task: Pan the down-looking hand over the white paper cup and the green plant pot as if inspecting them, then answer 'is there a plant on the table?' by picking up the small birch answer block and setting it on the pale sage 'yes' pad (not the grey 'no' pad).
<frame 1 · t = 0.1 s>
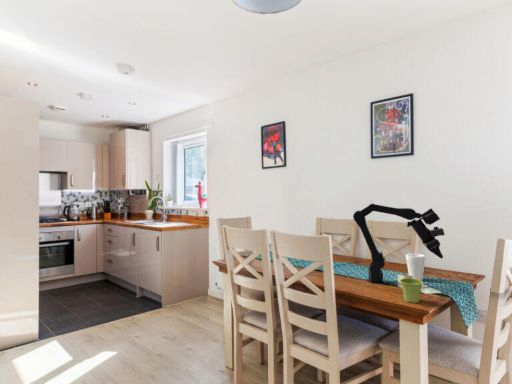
hand: (440, 256, 166), 15 cm above the table, tool tilted 30°, fingers open, 9 cm apart
foam cup: (416, 279, 179), on the table
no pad: (416, 285, 167), on the table
answer block: (405, 287, 165), on the table
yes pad: (428, 290, 158), on the table
plant pot: (412, 301, 145), on the table
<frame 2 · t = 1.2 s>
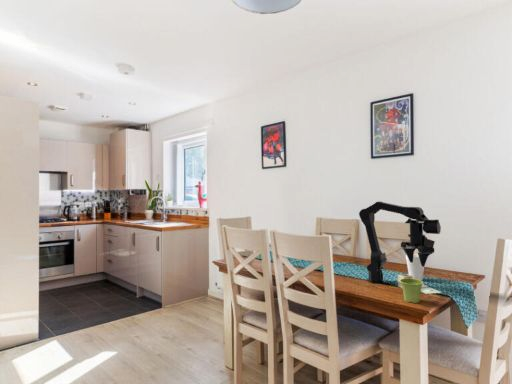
hand: (417, 264, 162), 12 cm above the table, tool pointing down, fingers open, 9 cm apart
nothing on the table moved.
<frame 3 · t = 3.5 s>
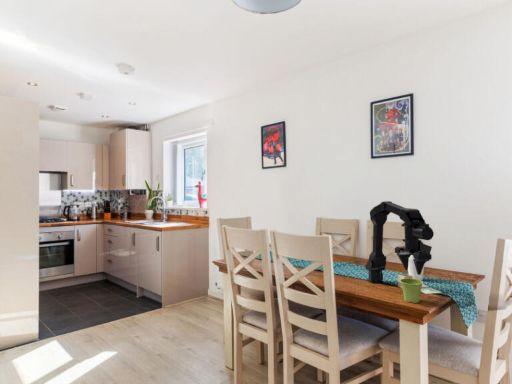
hand: (412, 272, 147), 12 cm above the table, tool pointing down, fingers open, 9 cm apart
nothing on the table moved.
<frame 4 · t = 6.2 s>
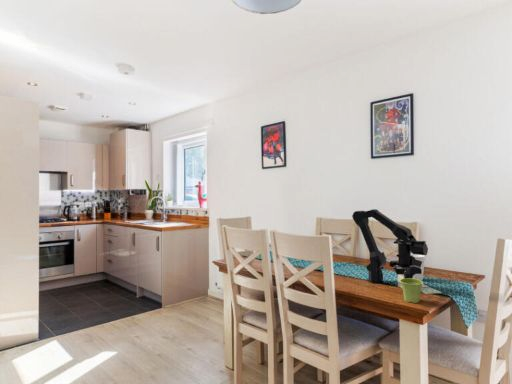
hand: (405, 284, 165), 2 cm above the table, tool pointing down, fingers closed on answer block, 5 cm apart
answer block: (405, 287, 165), on the table, touching gripper
everything else where it was.
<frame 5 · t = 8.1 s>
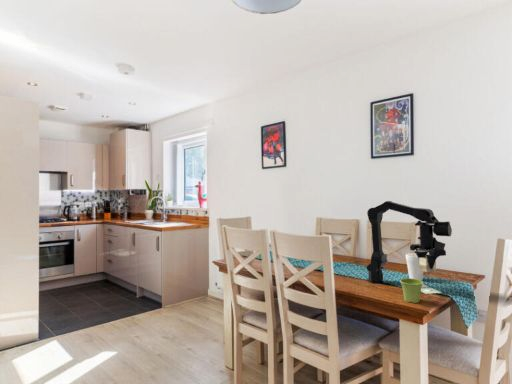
hand: (427, 267, 158), 11 cm above the table, tool pointing down, fingers closed on answer block, 5 cm apart
answer block: (427, 270, 158), point 10 cm above the table, touching gripper
everything else where it was.
when the fingers open (3 cm above the table, at t = 10.0 s): answer block drops 1 cm, resting on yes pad.
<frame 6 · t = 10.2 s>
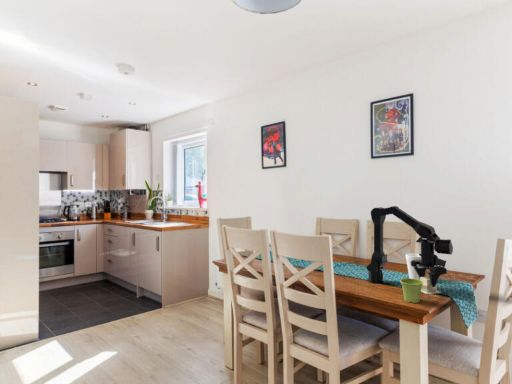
hand: (428, 284, 158), 3 cm above the table, tool pointing down, fingers open, 7 cm apart
answer block: (428, 290, 158), resting on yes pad
everything else where it was.
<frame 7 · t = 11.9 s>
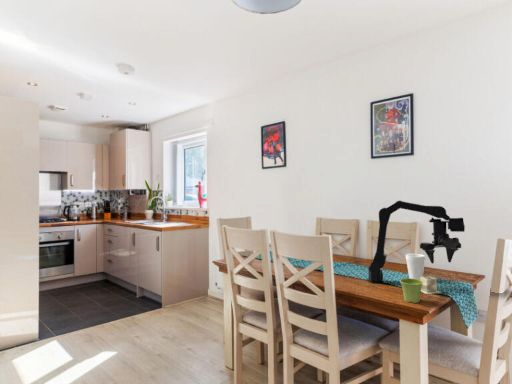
hand: (441, 262, 163), 12 cm above the table, tool pointing down, fingers open, 9 cm apart
nothing on the table moved.
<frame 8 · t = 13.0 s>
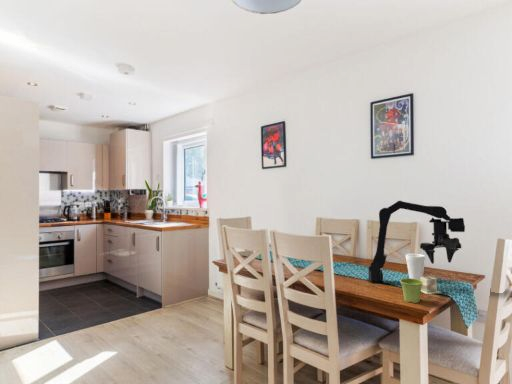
hand: (441, 262, 164), 12 cm above the table, tool pointing down, fingers open, 9 cm apart
nothing on the table moved.
at the end: answer block 0.0 cm from the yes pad (horizontally); answer block resting on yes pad; answer block tilted 0° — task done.
